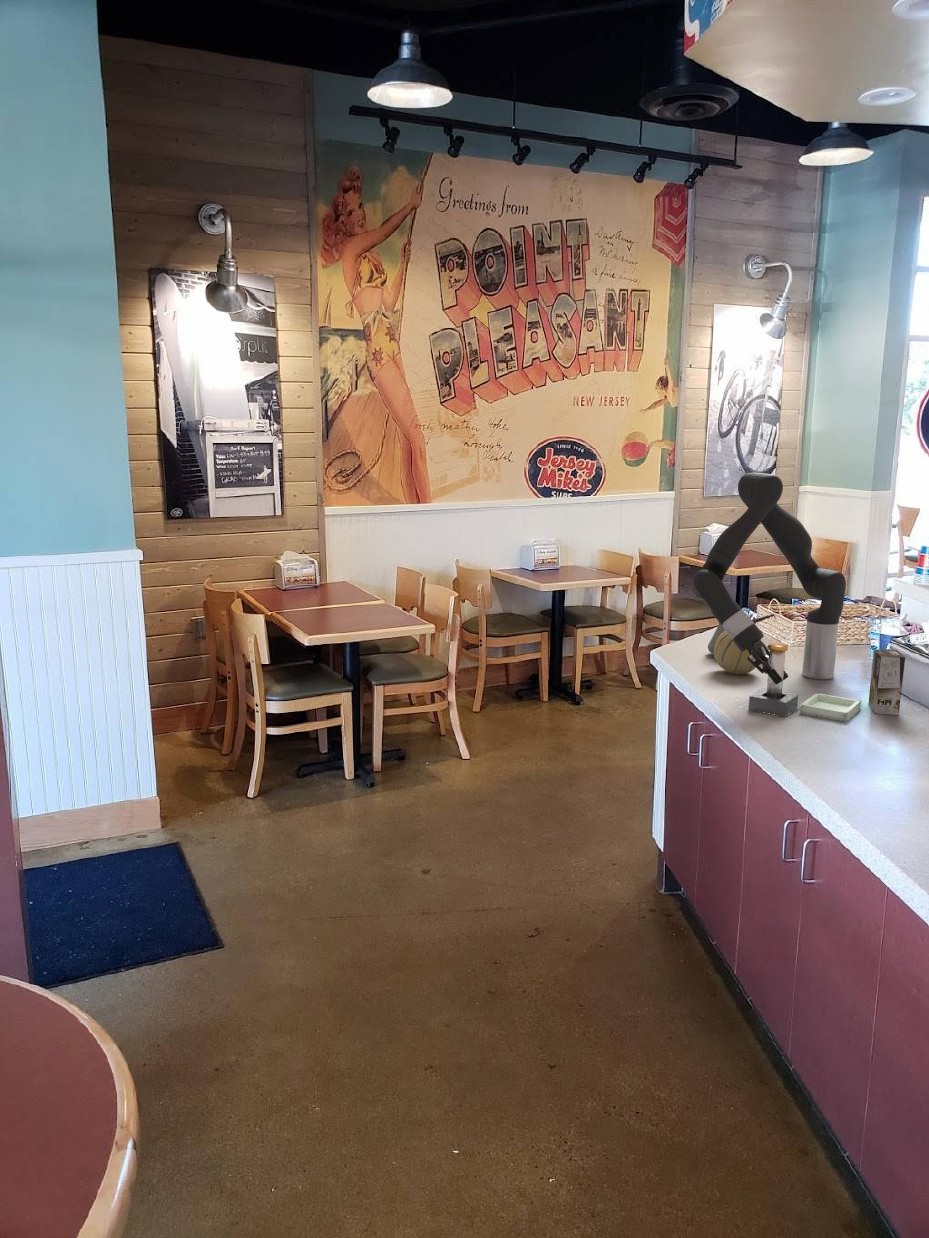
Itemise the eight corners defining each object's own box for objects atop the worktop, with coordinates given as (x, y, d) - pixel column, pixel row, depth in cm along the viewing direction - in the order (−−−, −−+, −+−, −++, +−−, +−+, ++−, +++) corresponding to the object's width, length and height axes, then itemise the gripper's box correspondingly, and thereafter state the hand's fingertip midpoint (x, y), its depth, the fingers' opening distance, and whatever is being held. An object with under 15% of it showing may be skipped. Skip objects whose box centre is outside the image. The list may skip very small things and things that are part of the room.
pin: (767, 705, 263) (772, 642, 259) (785, 708, 260) (790, 645, 256) (760, 709, 259) (765, 645, 255) (778, 713, 256) (784, 648, 252)
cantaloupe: (717, 665, 306) (720, 619, 302) (764, 670, 299) (768, 624, 296) (707, 675, 293) (710, 628, 289) (756, 682, 286) (760, 633, 283)
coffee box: (899, 715, 255) (906, 657, 252) (874, 713, 257) (880, 656, 253) (891, 705, 264) (898, 649, 261) (867, 704, 265) (873, 648, 262)
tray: (815, 701, 267) (816, 692, 267) (860, 709, 260) (861, 700, 260) (799, 713, 256) (800, 704, 256) (845, 722, 249) (846, 713, 249)
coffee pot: (709, 659, 312) (712, 615, 309) (705, 651, 323) (707, 608, 320) (776, 662, 310) (779, 617, 306) (769, 653, 321) (773, 610, 318)
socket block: (761, 701, 266) (762, 688, 266) (797, 708, 261) (798, 694, 260) (748, 710, 259) (749, 696, 258) (784, 717, 253) (786, 702, 252)
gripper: (742, 626, 253) (784, 678, 249) (761, 618, 265) (801, 667, 260) (722, 643, 258) (763, 694, 253) (742, 634, 269) (781, 682, 264)
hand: (782, 680), depth 257 cm, fingers closed on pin, 4 cm apart
